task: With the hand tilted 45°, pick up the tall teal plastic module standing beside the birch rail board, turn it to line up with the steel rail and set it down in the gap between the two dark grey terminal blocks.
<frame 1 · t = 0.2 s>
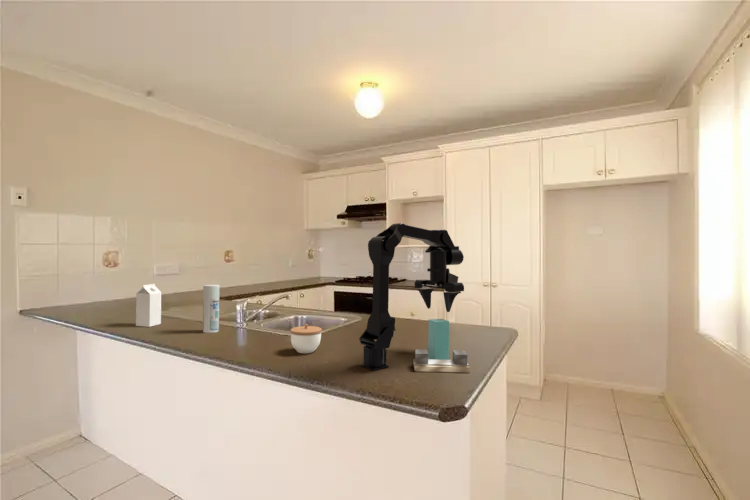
hand: (438, 310, 130), 15 cm above the countertop, tool pointing down, fingers open, 9 cm apart
milk carton: (148, 325, 171), on the countertop
spray can: (210, 331, 160), on the countertop
lidded jar: (305, 351, 130), on the countertop
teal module: (438, 360, 120), on the countertop
rail board: (440, 368, 112), on the countertop
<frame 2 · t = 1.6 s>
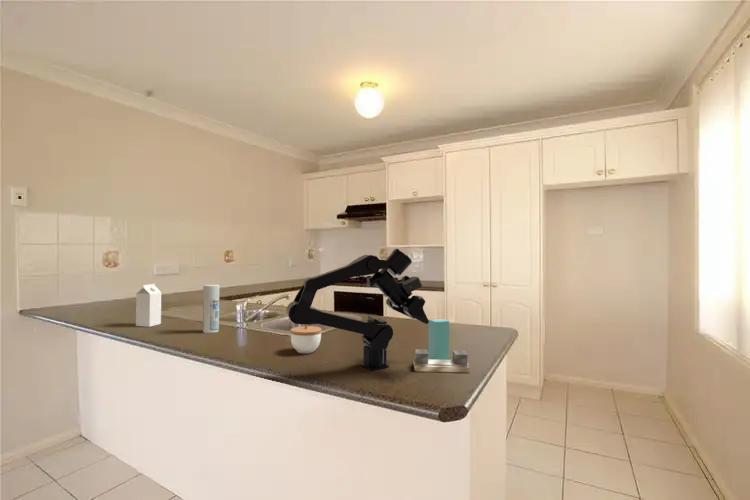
hand: (421, 320, 118), 13 cm above the countertop, tool tilted 45°, fingers open, 9 cm apart
nothing on the countertop moved.
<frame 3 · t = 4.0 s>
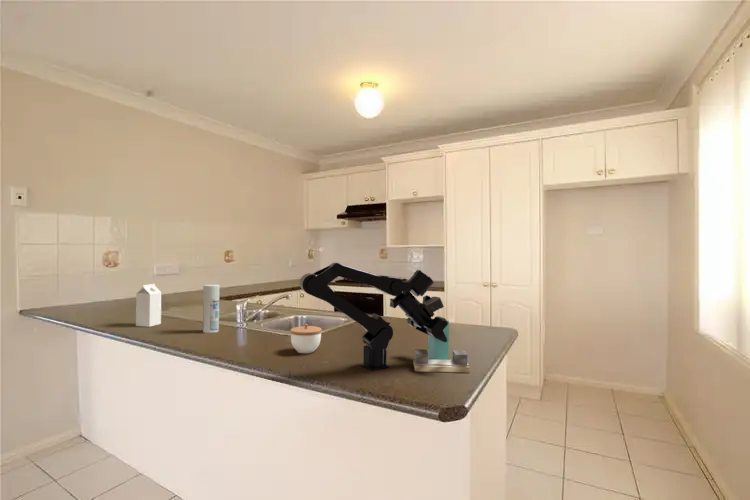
hand: (442, 339, 121), 7 cm above the countertop, tool tilted 45°, fingers closed on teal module, 5 cm apart
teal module: (438, 360, 120), on the countertop, touching gripper
everything else where it was.
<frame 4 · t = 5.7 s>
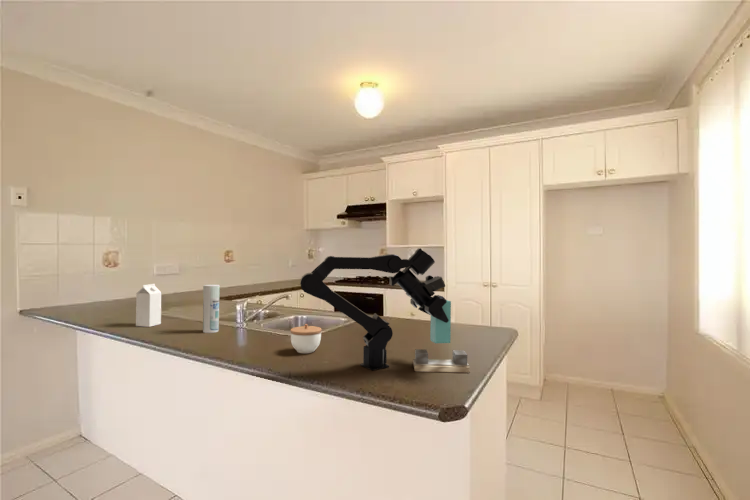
hand: (444, 320, 118), 13 cm above the countertop, tool tilted 45°, fingers closed on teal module, 4 cm apart
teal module: (440, 341, 117), point 7 cm above the countertop, touching gripper
everything else where it was.
when the fingers open (10 cm above the countertop, at t = 7.7 s): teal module drops 1 cm, resting on rail board.
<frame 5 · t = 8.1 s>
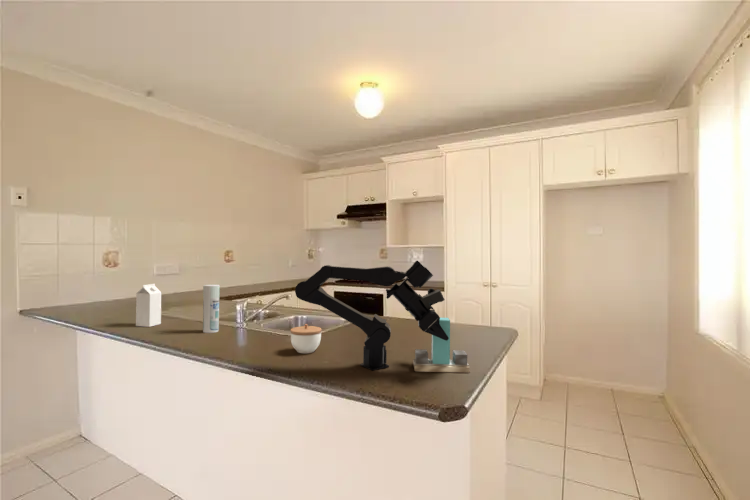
hand: (445, 336, 112), 10 cm above the countertop, tool tilted 45°, fingers open, 9 cm apart
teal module: (440, 361, 112), point 2 cm above the countertop, touching rail board
everything else where it was.
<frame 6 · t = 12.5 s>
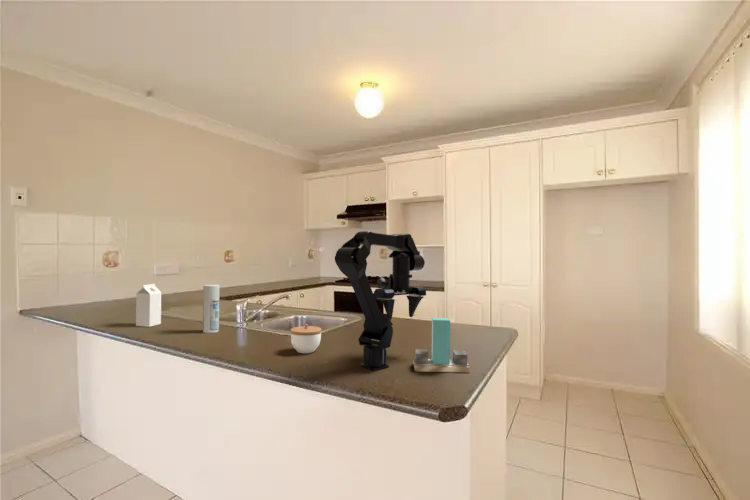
hand: (400, 318, 123), 13 cm above the countertop, tool pointing down, fingers open, 9 cm apart
nothing on the countertop moved.
at the end: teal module 0.0 cm off-centre on the rail board, point 1.9 cm above the rail board's base; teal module tilted 0°; the gripper is holding nothing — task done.
